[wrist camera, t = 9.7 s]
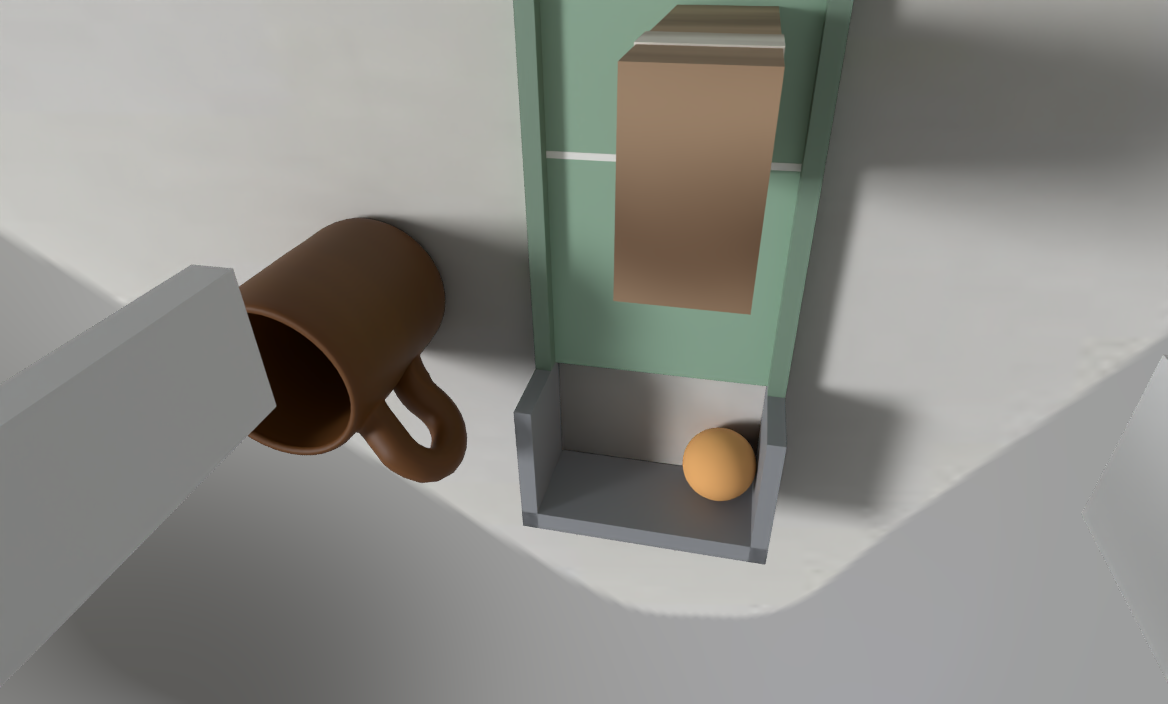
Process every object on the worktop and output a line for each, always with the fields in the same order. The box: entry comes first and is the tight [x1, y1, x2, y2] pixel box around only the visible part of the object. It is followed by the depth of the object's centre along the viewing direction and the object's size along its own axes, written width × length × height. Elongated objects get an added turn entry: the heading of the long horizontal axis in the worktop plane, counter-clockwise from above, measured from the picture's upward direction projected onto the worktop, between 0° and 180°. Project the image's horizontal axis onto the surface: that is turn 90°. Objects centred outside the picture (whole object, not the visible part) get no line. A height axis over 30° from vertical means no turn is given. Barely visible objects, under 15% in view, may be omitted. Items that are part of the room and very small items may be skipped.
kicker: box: [613, 5, 785, 315], centre depth 22 cm, size 6×4×12 cm, turn 0°
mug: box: [239, 218, 467, 483], centre depth 32 cm, size 12×8×9 cm, turn 52°
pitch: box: [513, 0, 854, 564], centre depth 29 cm, size 28×12×5 cm, turn 1°
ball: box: [683, 428, 756, 501], centre depth 35 cm, size 4×4×4 cm
